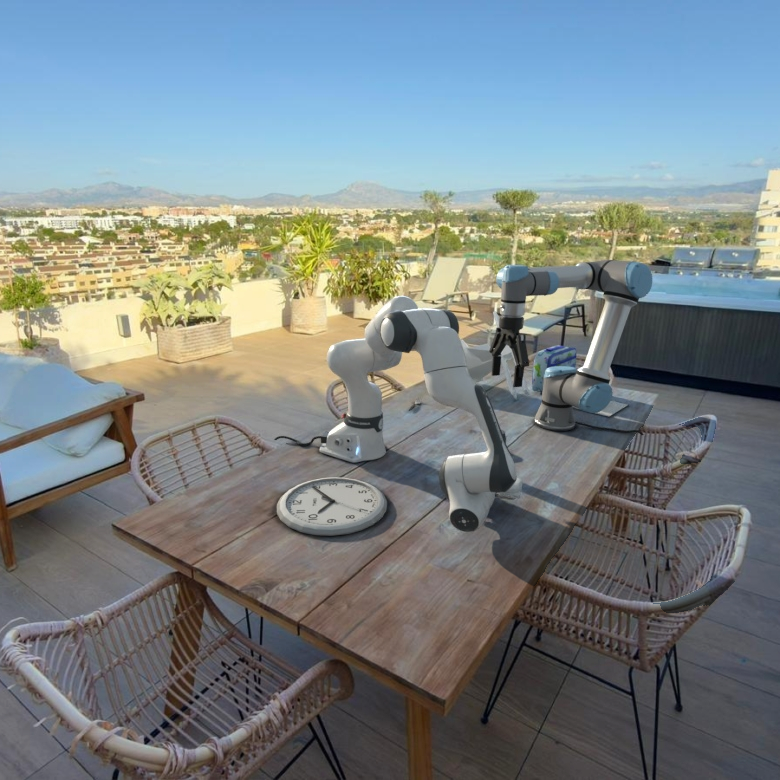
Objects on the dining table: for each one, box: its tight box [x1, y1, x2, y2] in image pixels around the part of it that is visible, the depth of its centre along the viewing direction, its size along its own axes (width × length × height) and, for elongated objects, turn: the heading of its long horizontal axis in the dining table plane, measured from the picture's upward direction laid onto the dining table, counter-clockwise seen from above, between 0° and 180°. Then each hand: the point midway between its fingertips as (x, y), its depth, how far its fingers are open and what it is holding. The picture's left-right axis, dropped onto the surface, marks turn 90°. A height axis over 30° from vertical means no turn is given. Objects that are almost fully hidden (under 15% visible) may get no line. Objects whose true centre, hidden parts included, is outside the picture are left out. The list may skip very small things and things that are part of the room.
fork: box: [408, 396, 423, 412], centre depth 222 cm, size 3×16×2 cm, turn 160°
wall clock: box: [276, 476, 388, 537], centre depth 142 cm, size 30×2×30 cm
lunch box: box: [531, 345, 577, 394], centre depth 245 cm, size 26×11×21 cm, turn 134°
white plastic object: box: [460, 310, 531, 400], centre depth 245 cm, size 37×45×31 cm
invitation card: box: [573, 400, 629, 418], centre depth 226 cm, size 21×1×15 cm
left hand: (489, 470), depth 150 cm, fingers open, 8 cm apart
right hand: (506, 380), depth 170 cm, fingers open, 13 cm apart
